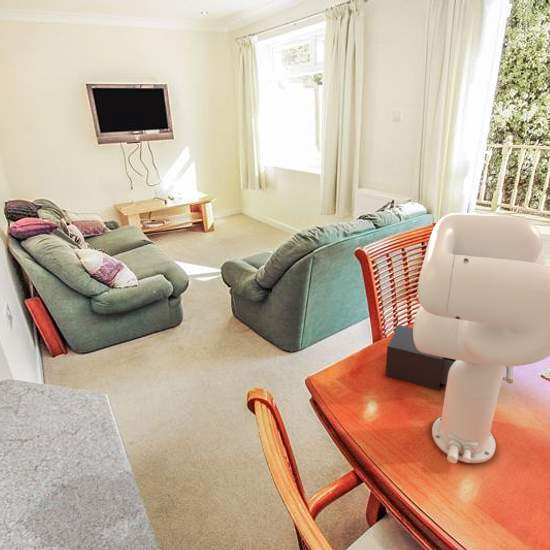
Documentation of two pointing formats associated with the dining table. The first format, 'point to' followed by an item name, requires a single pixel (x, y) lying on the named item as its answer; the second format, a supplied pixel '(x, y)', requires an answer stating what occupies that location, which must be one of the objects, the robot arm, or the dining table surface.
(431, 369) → the dark grey box
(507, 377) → the basket
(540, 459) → the dining table surface
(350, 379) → the dining table surface
